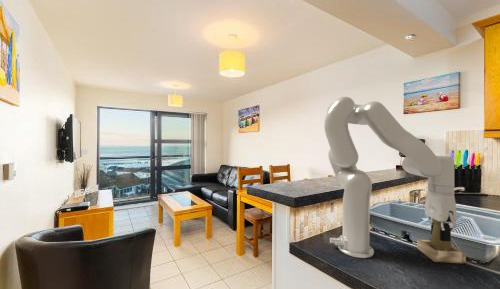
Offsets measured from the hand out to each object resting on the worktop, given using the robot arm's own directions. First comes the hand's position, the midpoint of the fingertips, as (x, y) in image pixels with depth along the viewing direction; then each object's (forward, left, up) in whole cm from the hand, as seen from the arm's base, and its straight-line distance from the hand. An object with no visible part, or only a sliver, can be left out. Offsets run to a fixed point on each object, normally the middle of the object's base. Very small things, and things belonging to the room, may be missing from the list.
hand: (440, 237), depth 84 cm
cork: (0, 0, -3) cm, 3 cm away
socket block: (0, 0, -7) cm, 7 cm away
